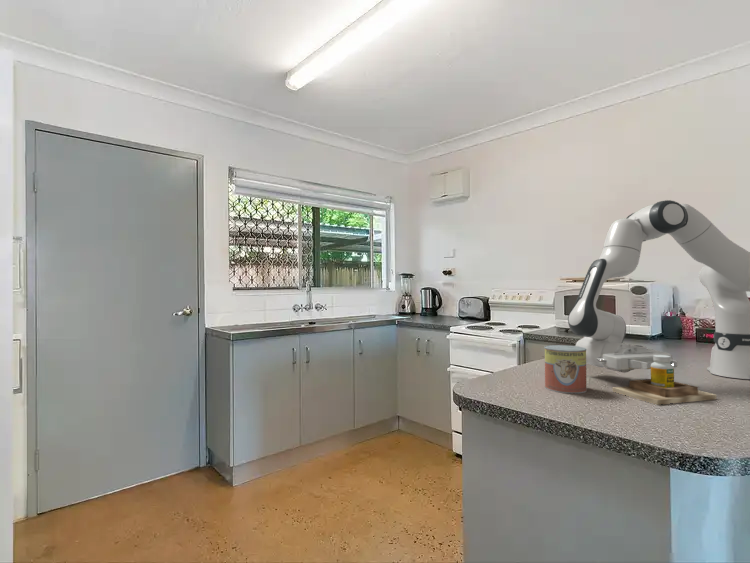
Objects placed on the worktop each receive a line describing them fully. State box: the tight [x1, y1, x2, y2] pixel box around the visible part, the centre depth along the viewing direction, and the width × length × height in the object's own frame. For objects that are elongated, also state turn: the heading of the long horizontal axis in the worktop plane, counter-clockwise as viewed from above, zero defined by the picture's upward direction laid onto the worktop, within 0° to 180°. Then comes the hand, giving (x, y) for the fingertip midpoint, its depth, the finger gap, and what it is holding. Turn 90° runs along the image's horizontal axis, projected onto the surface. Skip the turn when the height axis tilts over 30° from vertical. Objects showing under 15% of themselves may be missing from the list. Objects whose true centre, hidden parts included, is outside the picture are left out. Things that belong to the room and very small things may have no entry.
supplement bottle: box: [650, 355, 675, 388], centre depth 116 cm, size 5×5×10 cm
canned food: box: [543, 344, 588, 394], centre depth 124 cm, size 11×11×12 cm
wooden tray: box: [611, 378, 718, 406], centre depth 116 cm, size 20×14×3 cm
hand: (662, 365), depth 116 cm, fingers open, 8 cm apart
